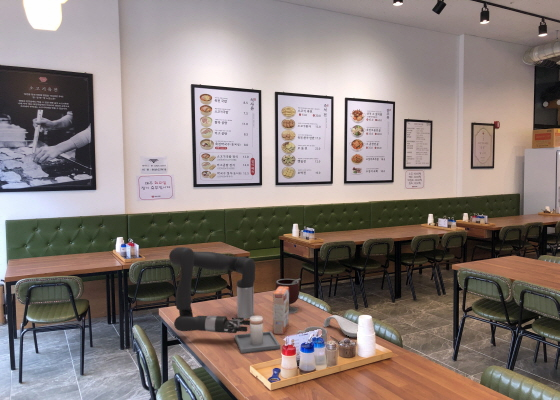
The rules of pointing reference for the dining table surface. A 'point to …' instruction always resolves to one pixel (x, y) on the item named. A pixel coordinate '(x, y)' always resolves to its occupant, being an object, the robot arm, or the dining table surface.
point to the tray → (267, 345)
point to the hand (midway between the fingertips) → (249, 325)
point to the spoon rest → (343, 325)
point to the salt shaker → (256, 330)
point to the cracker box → (280, 310)
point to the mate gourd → (290, 291)
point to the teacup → (324, 331)
